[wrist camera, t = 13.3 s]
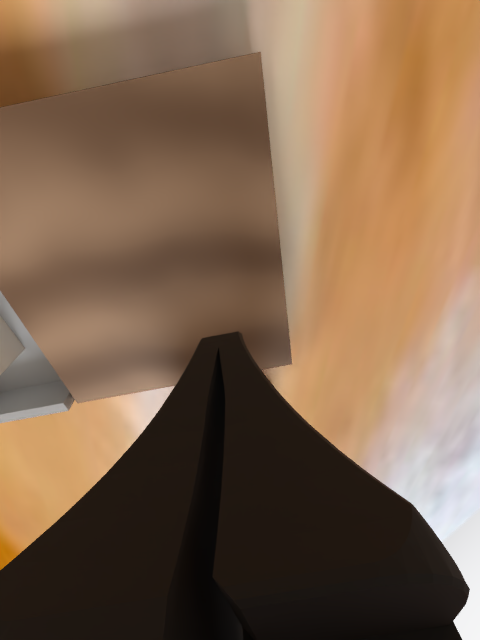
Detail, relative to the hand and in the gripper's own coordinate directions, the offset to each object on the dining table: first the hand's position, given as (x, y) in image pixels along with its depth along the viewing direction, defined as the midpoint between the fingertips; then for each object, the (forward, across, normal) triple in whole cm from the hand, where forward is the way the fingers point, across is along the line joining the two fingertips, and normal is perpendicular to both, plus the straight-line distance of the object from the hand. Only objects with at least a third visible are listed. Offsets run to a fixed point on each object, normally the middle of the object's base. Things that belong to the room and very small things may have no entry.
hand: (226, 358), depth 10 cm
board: (+10, +4, 0) cm, 11 cm away
